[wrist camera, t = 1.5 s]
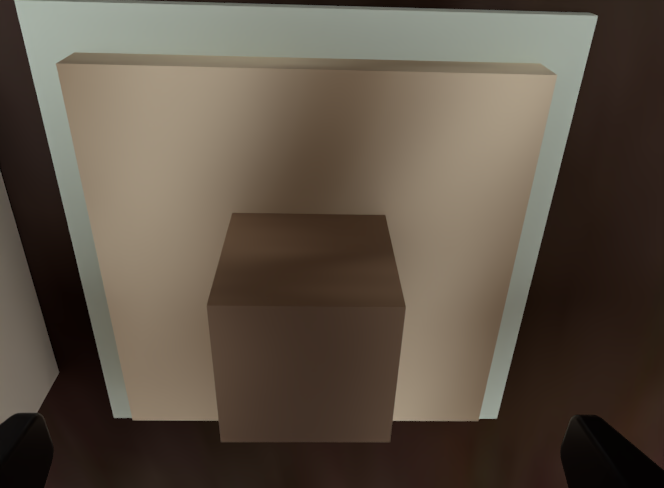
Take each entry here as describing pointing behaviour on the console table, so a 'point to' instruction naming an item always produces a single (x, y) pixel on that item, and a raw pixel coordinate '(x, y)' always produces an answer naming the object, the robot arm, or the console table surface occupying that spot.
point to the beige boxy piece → (20, 326)
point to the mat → (303, 42)
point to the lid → (305, 232)
